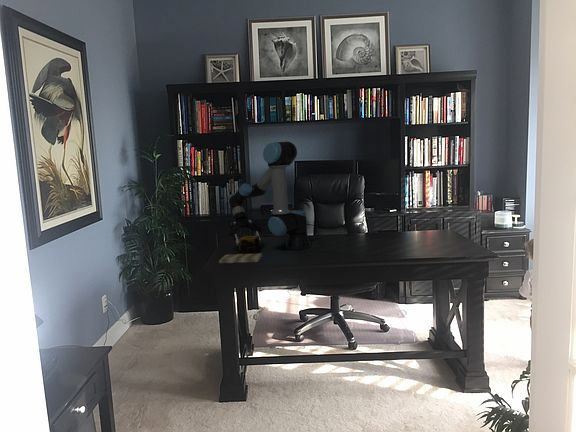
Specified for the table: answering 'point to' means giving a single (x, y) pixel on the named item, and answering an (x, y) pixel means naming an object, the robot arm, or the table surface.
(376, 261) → the table surface
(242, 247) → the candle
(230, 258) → the birch board
